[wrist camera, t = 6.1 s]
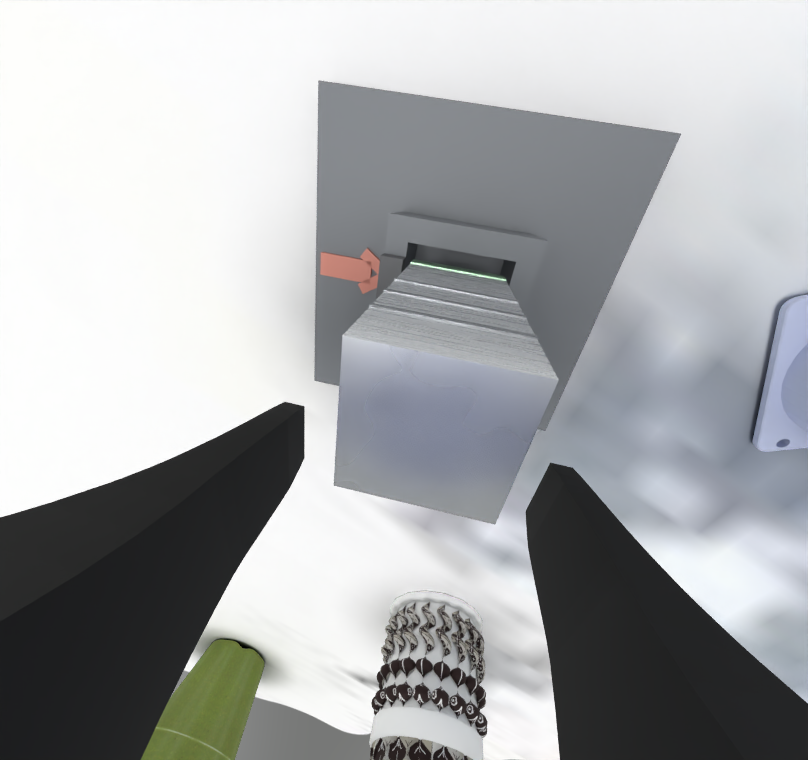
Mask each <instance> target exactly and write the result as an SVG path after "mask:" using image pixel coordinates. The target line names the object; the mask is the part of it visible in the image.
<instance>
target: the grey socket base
mask: <svg viewBox="0 0 808 760" xmlns="http://www.w3.org/2000/svg"><path fill="white" fill-rule="evenodd" d="M680 135H681V134H680V133H673V132H666V131H659V130H652V129H646V128H639V127H632V126H625V125H618V124H612V123H605V122H598V121H591V120H584V119H577V118H571V117H564V116H557V115H550V114H543V113H537V112H530V111H523V110H516V109H509V108H502V107H496V106H489V105H482V104H475V103H468V102H462V101H455V100H448V99H441V98H434V97H428V96H421V95H414V94H407V93H400V92H393V91H387V90H380V89H373V88H366V87H359V86H353V85H346V84H339V83H332V82H325V81H319V86H318V161H317V235H316V309H315V381H319V382H324V383H328V384H333V385H337V386H340V369H341V352H342V335H343V334H344V333H345V332H346V331H347V330H348V329H349V328H350V327H351V326H352V325H353V324H354V323H355V322H356V321H357V320H358V318H359V317H360V316H361V315H362V314H363V313H364V312H365V311H366V310H367V309H368V308H369V305H370V303H374V302H375V300H376V299H377V298H378V297H379V296H380V295H381V294H382V293H383V292H384V289H385V288H388V287H389V286H390V285H391V284H392V282H393V281H394V279H395V278H397V277H398V276H399V275H400V274H401V273H402V272H403V271H404V270H405V269H406V268H407V267H408V266H409V265H410V263H411V261H412V260H413V259H415V260H420V261H426V262H431V263H436V264H442V265H447V266H453V267H458V268H464V269H469V270H474V271H480V272H485V273H491V274H496V275H501V276H505V278H506V279H507V283H508V285H509V287H510V289H511V291H512V293H513V295H514V297H515V298H516V300H517V301H519V306H520V308H521V310H522V312H523V313H524V315H526V316H527V321H528V323H529V325H530V327H531V329H532V330H533V332H534V334H535V335H537V336H538V338H539V339H538V342H539V344H540V345H541V347H542V349H543V351H544V353H545V355H546V357H547V359H548V361H549V362H550V364H551V366H552V368H553V370H554V372H555V374H556V376H557V377H558V379H559V381H558V383H557V385H556V387H555V390H554V392H553V394H552V397H551V399H550V401H549V403H548V406H547V408H546V410H545V412H544V415H543V417H542V419H541V421H540V424H539V426H538V428H537V429H539V430H544V431H545V430H546V428H547V426H548V423H549V421H550V419H551V417H552V415H553V413H554V410H555V408H556V406H557V404H558V402H559V399H560V397H561V395H562V393H563V391H564V389H565V386H566V384H567V382H568V380H569V378H570V375H571V373H572V371H573V369H574V367H575V365H576V362H577V360H578V358H579V356H580V354H581V351H582V349H583V347H584V345H585V343H586V341H587V338H588V336H589V334H590V332H591V330H592V327H593V325H594V323H595V321H596V319H597V317H598V314H599V312H600V310H601V308H602V306H603V303H604V301H605V299H606V297H607V295H608V293H609V290H610V288H611V286H612V284H613V282H614V279H615V277H616V275H617V273H618V271H619V269H620V266H621V264H622V262H623V260H624V258H625V255H626V253H627V251H628V249H629V247H630V245H631V242H632V240H633V238H634V236H635V234H636V231H637V229H638V227H639V225H640V223H641V221H642V218H643V216H644V214H645V212H646V210H647V207H648V205H649V203H650V201H651V199H652V197H653V194H654V192H655V190H656V188H657V186H658V183H659V181H660V179H661V177H662V175H663V173H664V170H665V168H666V166H667V164H668V162H669V159H670V157H671V155H672V153H673V151H674V149H675V146H676V144H677V142H678V140H679V138H680Z"/></svg>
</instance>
